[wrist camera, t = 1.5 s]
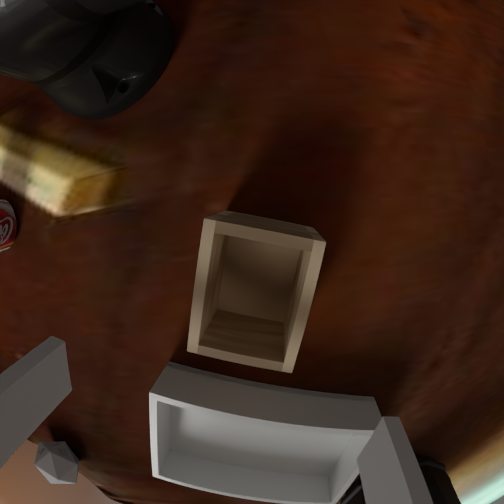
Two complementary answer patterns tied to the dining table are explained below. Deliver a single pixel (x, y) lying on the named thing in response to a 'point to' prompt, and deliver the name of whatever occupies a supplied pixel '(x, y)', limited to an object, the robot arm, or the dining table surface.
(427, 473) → the black white-marked cylinder
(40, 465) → the die
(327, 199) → the dining table surface
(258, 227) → the small oak crate
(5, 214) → the soda can
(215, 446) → the large grey crate
